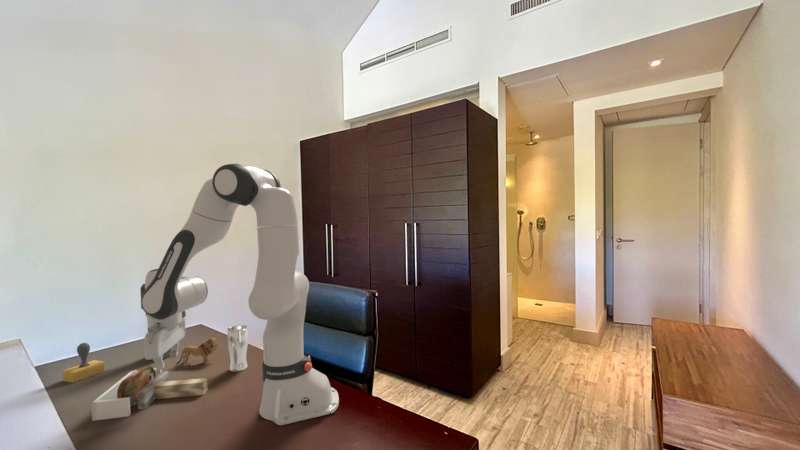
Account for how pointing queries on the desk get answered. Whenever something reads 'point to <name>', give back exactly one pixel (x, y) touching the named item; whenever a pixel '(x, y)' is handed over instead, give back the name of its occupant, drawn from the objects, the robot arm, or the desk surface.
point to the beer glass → (237, 347)
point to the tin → (135, 384)
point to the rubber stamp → (83, 366)
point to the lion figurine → (200, 351)
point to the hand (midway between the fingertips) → (167, 362)
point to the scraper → (169, 389)
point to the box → (113, 402)
